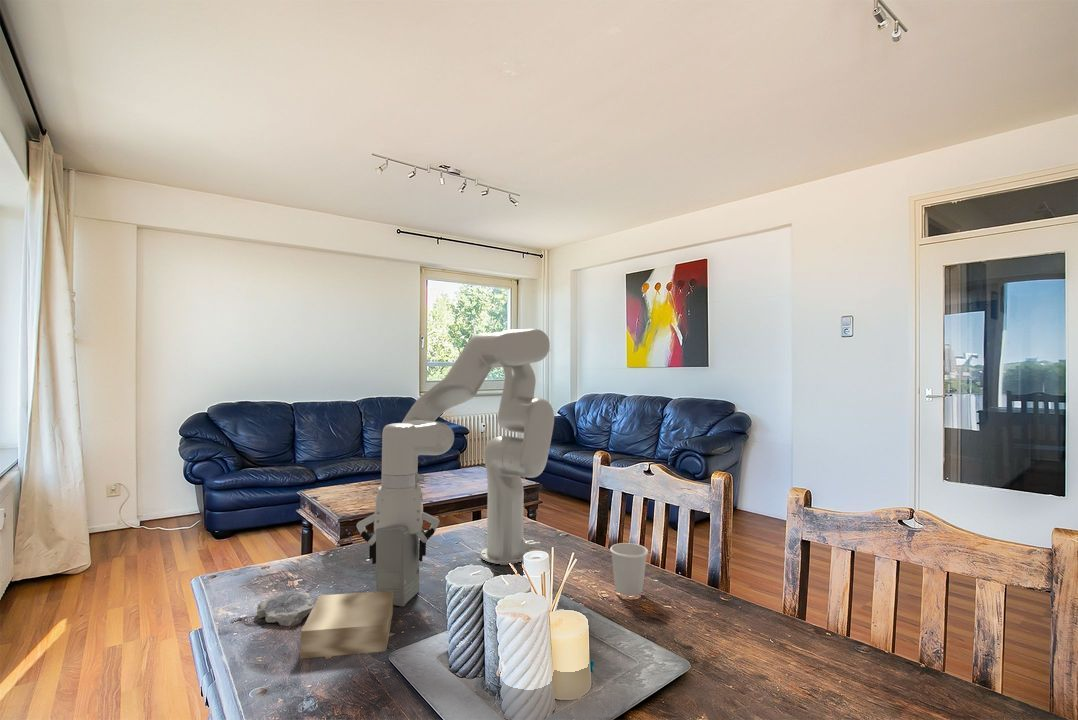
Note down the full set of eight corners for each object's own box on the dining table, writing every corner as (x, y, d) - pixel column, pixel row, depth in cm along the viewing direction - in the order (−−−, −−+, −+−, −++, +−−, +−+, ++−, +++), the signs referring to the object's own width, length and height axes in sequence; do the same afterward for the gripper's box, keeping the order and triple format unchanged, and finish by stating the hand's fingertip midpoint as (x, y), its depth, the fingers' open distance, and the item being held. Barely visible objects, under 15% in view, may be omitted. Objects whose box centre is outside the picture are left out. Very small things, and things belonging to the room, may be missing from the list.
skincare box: (403, 607, 107) (405, 530, 107) (372, 604, 109) (373, 528, 109) (421, 590, 115) (422, 519, 116) (391, 587, 117) (392, 516, 117)
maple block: (392, 615, 105) (393, 590, 105) (386, 653, 91) (386, 624, 91) (318, 621, 102) (319, 595, 102) (300, 660, 88) (301, 631, 88)
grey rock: (244, 605, 101) (287, 577, 110) (246, 624, 102) (289, 594, 111) (286, 623, 97) (327, 592, 106) (288, 642, 98) (329, 609, 107)
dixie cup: (632, 584, 121) (633, 540, 121) (655, 598, 113) (656, 552, 113) (602, 590, 117) (602, 545, 117) (623, 605, 110) (624, 558, 110)
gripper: (440, 476, 118) (438, 552, 118) (360, 478, 114) (358, 556, 114) (440, 483, 110) (438, 564, 110) (355, 486, 107) (353, 569, 107)
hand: (397, 560), depth 112 cm, fingers open, 9 cm apart
